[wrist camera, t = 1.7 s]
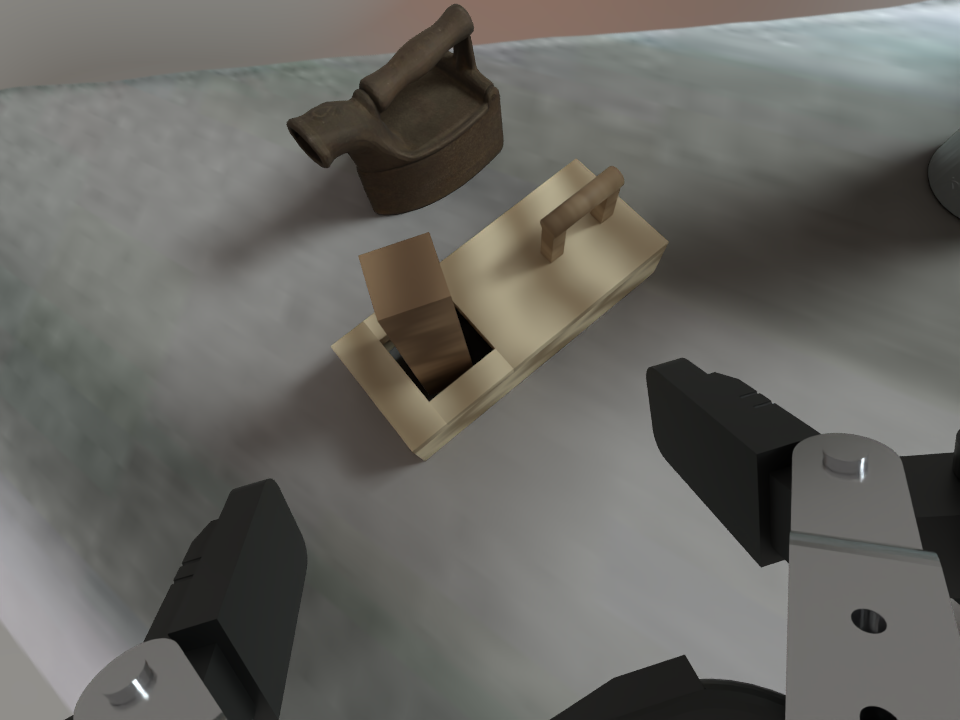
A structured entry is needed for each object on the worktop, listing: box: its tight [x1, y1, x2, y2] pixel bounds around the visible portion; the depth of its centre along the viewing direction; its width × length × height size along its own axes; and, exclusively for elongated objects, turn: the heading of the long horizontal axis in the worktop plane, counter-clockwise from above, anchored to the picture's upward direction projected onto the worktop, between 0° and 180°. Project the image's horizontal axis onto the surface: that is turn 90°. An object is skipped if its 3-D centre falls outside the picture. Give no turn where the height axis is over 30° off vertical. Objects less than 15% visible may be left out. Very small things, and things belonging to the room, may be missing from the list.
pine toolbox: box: [331, 159, 668, 461], centre depth 40 cm, size 24×10×10 cm, turn 129°
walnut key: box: [359, 232, 473, 396], centre depth 36 cm, size 4×4×16 cm
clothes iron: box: [286, 4, 503, 215], centre depth 43 cm, size 8×16×13 cm, turn 135°
